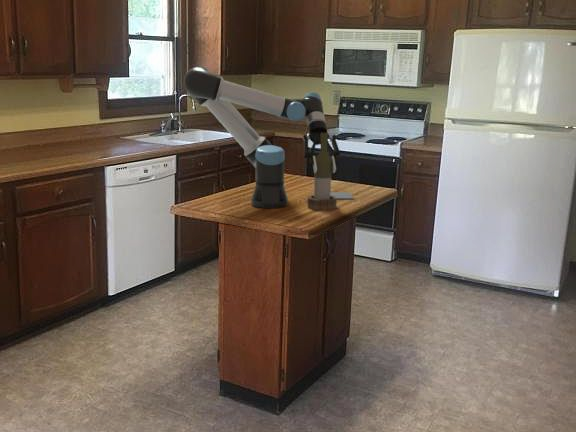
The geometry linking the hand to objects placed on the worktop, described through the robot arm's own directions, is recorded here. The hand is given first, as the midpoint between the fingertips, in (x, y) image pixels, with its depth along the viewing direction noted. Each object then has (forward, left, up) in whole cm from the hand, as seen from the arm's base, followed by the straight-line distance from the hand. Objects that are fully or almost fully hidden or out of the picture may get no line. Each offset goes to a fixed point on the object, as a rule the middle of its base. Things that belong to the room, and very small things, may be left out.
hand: (325, 171), depth 254 cm
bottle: (0, +3, -16) cm, 16 cm away
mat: (+10, +23, -15) cm, 30 cm away
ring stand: (0, +3, -15) cm, 16 cm away
